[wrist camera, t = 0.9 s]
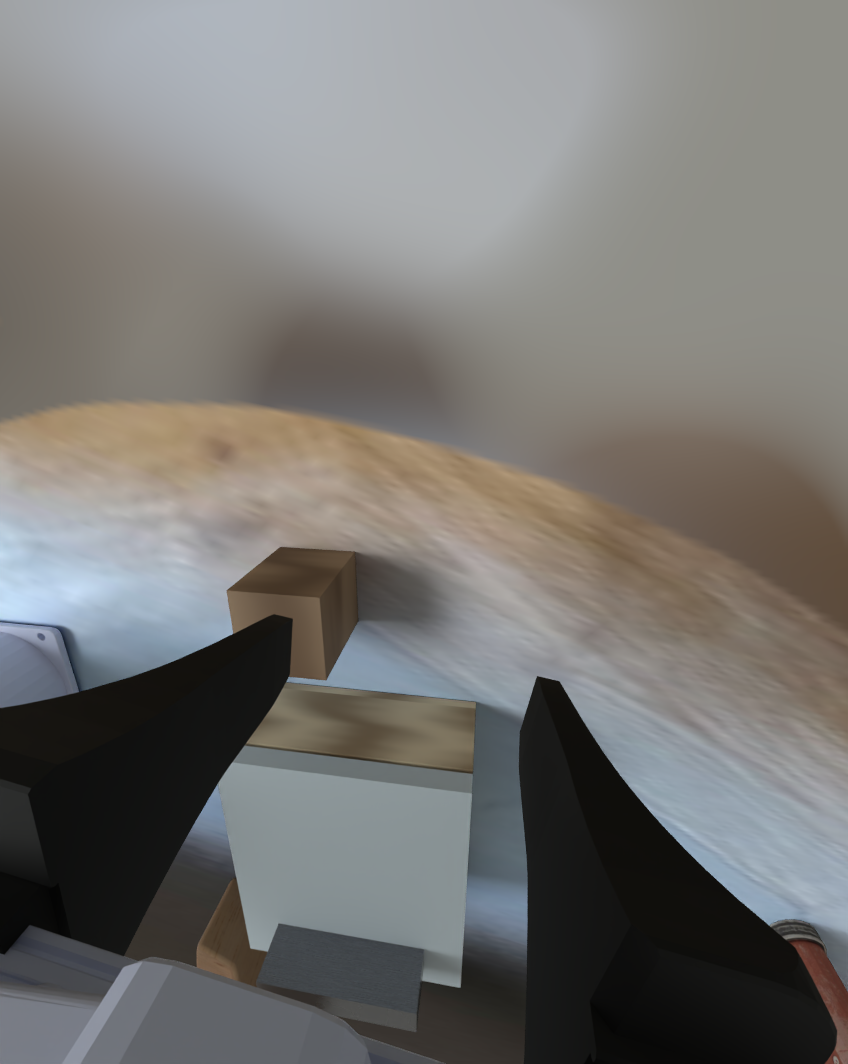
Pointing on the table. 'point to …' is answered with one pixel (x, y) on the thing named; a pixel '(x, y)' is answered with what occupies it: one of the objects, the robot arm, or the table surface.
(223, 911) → the wooden block
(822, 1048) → the robot arm
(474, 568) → the table surface
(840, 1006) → the lighter
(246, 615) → the small brown block
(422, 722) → the brown piece
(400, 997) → the toolbox lid
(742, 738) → the table surface
